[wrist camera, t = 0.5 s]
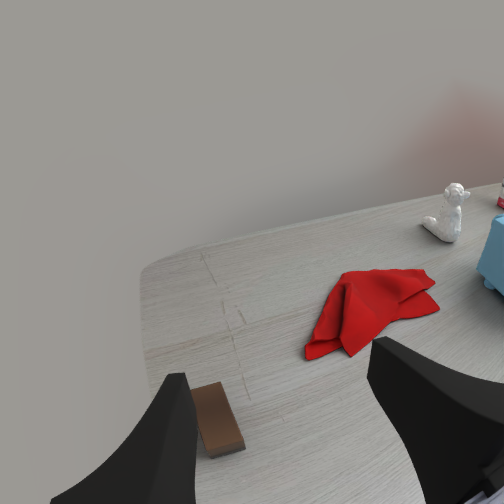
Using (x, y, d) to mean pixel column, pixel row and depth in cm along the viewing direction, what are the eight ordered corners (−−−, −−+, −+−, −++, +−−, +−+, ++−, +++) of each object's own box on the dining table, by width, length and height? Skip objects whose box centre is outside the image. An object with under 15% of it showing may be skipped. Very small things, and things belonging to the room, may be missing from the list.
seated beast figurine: (455, 226, 56) (467, 177, 50) (469, 247, 50) (485, 194, 43) (420, 222, 58) (430, 171, 51) (431, 244, 51) (446, 188, 44)
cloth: (404, 255, 49) (407, 245, 47) (456, 303, 38) (461, 292, 37) (269, 297, 43) (269, 285, 41) (313, 372, 32) (315, 361, 30)
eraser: (245, 449, 25) (243, 439, 23) (211, 459, 24) (206, 450, 22) (224, 394, 30) (220, 381, 28) (193, 403, 29) (187, 390, 27)
